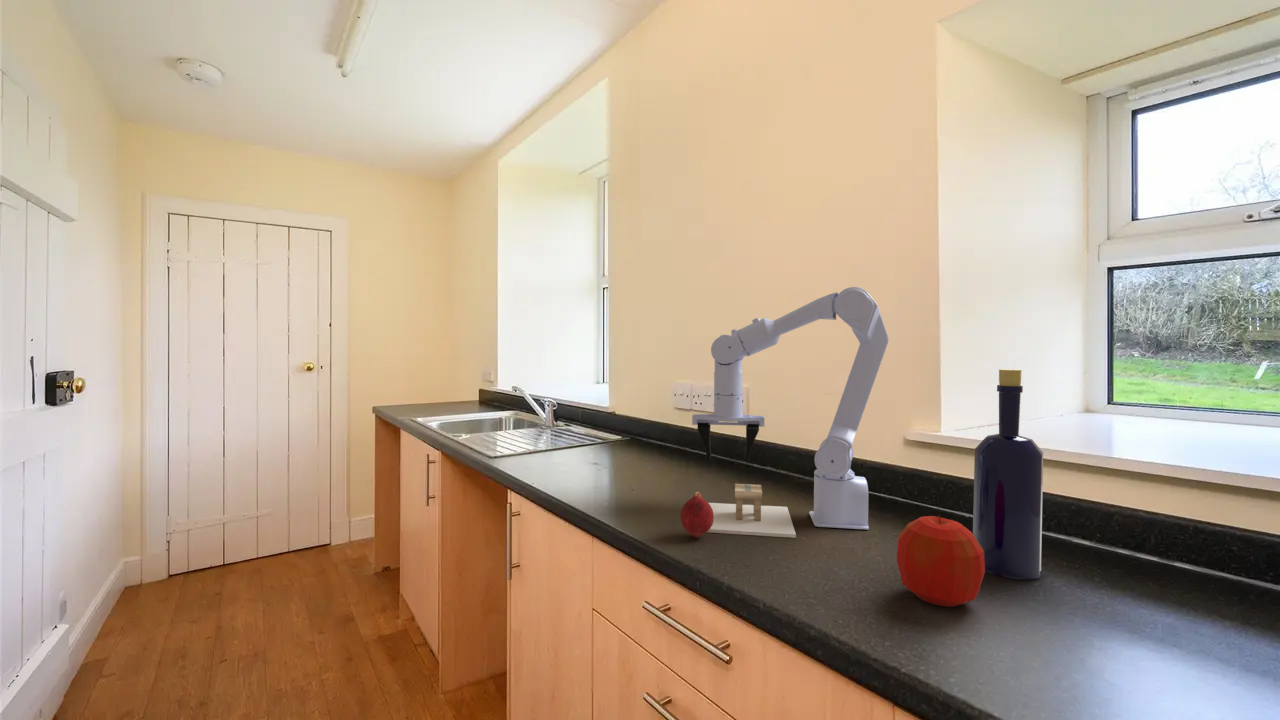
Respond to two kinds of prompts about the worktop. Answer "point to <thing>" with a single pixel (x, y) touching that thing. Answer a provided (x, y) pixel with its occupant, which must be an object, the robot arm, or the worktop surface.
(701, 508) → the onion
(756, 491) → the stool
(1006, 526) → the bottle
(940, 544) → the apple
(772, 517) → the mat
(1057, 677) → the worktop surface
